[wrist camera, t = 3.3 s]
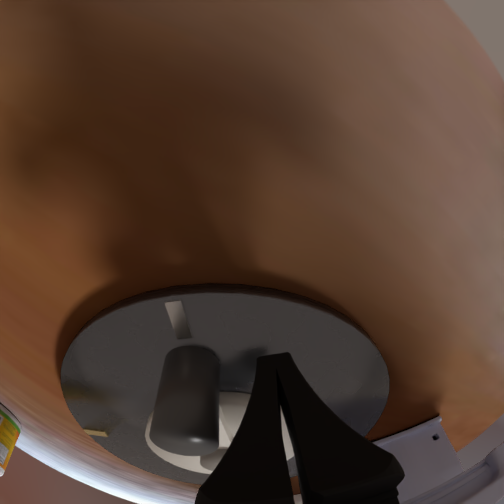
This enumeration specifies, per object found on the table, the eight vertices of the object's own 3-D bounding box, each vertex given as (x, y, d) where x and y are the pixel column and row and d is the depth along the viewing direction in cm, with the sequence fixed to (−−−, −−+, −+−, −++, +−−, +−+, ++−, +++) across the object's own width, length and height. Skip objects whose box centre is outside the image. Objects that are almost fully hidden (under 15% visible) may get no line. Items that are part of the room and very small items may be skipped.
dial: (301, 455, 18) (311, 504, 14) (176, 466, 18) (173, 513, 14) (297, 324, 12) (323, 407, 8) (92, 345, 12) (60, 415, 8)
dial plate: (408, 248, 13) (420, 258, 12) (359, 455, 21) (363, 464, 20) (11, 305, 12) (2, 315, 11) (142, 476, 21) (141, 484, 20)
